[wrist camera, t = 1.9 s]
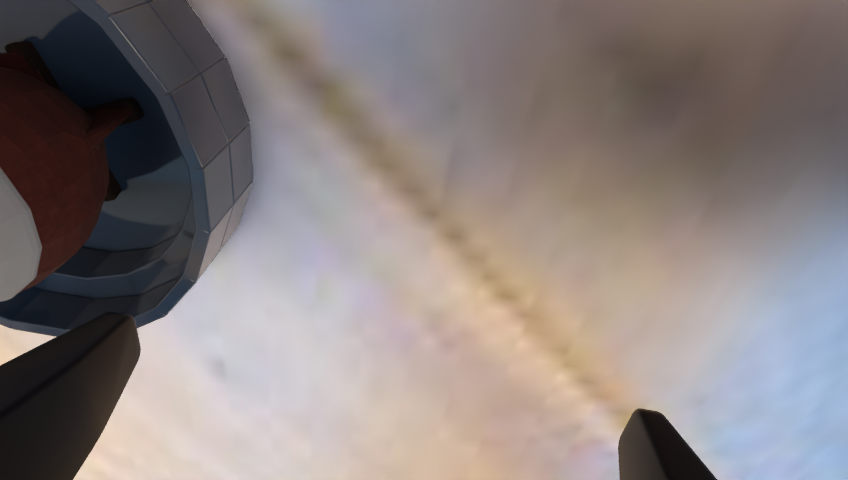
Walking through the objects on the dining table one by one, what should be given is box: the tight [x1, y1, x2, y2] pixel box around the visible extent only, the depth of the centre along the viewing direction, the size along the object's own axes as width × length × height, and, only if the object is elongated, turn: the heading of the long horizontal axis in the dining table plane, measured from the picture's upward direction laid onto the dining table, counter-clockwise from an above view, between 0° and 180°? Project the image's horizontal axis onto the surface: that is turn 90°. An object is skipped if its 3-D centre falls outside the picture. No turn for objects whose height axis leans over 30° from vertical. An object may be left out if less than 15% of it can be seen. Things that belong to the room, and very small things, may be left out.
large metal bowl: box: [0, 0, 253, 337], centre depth 20 cm, size 15×15×4 cm
